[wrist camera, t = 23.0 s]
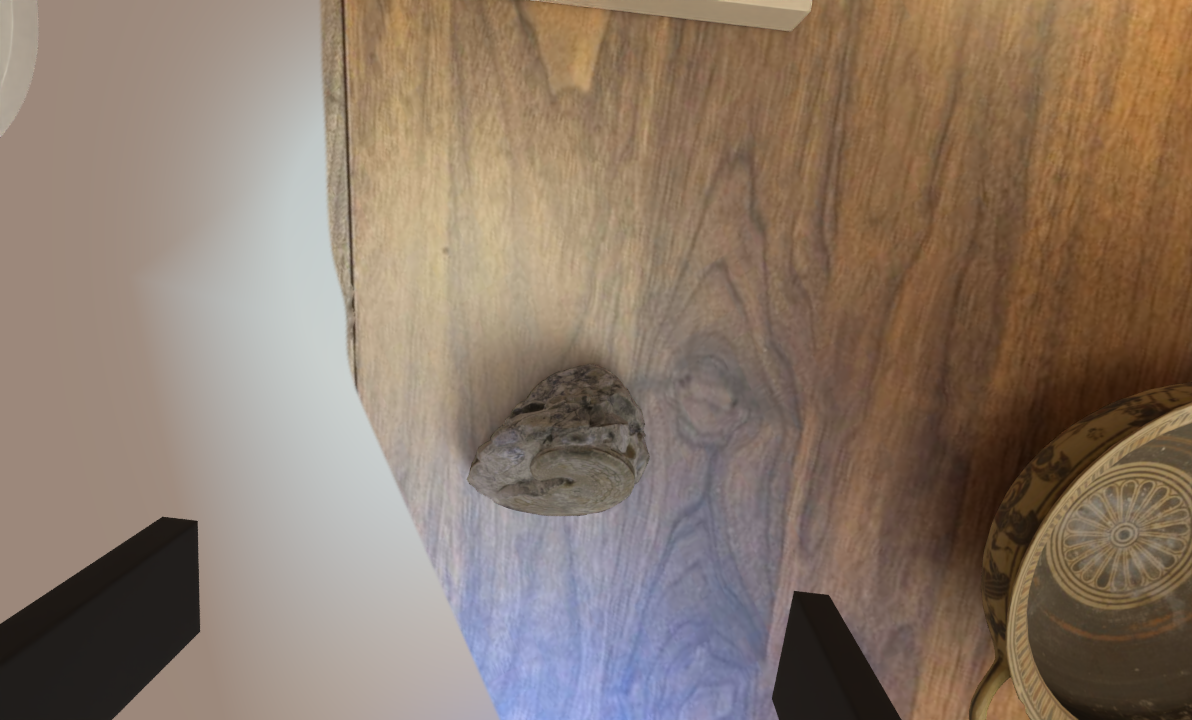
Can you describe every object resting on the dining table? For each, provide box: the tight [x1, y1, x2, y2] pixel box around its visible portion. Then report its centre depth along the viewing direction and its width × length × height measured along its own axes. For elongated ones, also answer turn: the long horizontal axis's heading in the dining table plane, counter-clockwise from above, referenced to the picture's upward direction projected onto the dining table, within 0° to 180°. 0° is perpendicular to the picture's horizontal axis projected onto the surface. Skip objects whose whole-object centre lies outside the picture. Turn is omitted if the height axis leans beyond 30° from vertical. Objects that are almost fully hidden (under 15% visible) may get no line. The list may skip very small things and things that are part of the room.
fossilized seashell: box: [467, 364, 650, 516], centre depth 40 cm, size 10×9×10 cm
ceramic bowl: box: [969, 382, 1192, 720], centre depth 37 cm, size 30×24×10 cm
